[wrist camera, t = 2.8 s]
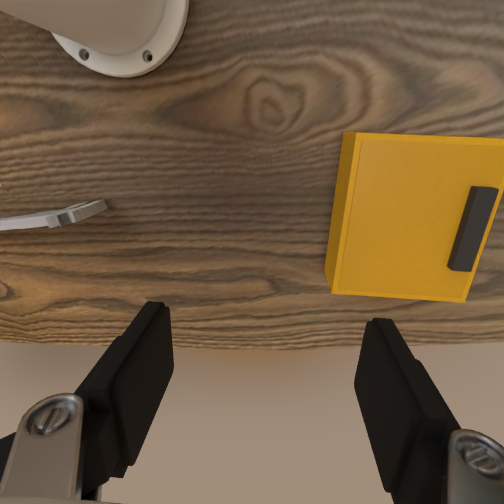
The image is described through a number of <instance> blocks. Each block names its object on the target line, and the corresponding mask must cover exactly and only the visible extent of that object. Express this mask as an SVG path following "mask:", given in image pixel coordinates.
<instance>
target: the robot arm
mask: <svg viewBox="0 0 504 504" xmlns="http://www.w3.org/2000/svg"><path fill="white" fill-rule="evenodd" d="M188 9H189V0H0V11H2V12H4V13H6V14H9V15H11V16H14V17H16V18H19V19H21V20H23V21H26V22H28V23H31V24H33V25H36V26H38V27H40V28H43V29H45V30H48V31H50V32H51V33H52V35H53V36H54V38H55V39H56V40H57V42H58V43H59V44H60V45H61V46H62V47H63V49H64V50H65V51H66V52H67V53H68V54H70V55H71V56H72V57H73V58H74V59H75V60H77V61H78V62H79V63H81V64H83V65H84V66H86V67H88V68H89V69H91V70H94V71H96V72H99V73H102V74H105V75H109V76H113V77H124V78H130V77H135V76H140V75H143V74H145V73H148V72H150V71H152V70H154V69H155V68H157V67H158V66H159V65H161V64H162V63H163V62H164V61H165V60H166V59H167V58H168V57H169V56H170V54H171V53H172V52H173V51H174V49H175V47H176V46H177V44H178V42H179V40H180V38H181V36H182V33H183V30H184V27H185V24H186V21H187V15H188ZM88 54H89V58H88ZM150 55H152V56H153V57H152V60H151V61H149V56H150ZM173 369H174V359H173V346H172V334H171V321H170V309H169V307H166V306H165V304H164V303H163V302H153V301H147V302H146V303H145V305H144V306H143V308H142V309H141V310H140V312H139V313H138V314H137V316H136V317H135V318H134V320H133V321H132V322H131V324H130V325H129V326H128V328H127V329H126V331H125V332H124V333H123V335H122V336H118V337H117V338H116V339H115V340H114V341H113V342H112V344H111V345H110V346H109V348H108V349H107V350H106V351H105V353H104V354H103V356H102V357H101V358H100V359H99V361H98V362H97V363H96V365H95V366H94V367H93V369H92V370H91V371H90V373H89V374H88V375H87V377H86V378H85V379H84V381H83V382H82V383H81V384H80V386H79V387H78V388H77V390H76V391H75V392H74V393H61V394H56V395H52V396H49V397H47V398H45V399H43V400H41V401H39V402H37V403H36V404H35V405H34V406H32V407H31V408H30V409H29V410H28V411H27V412H26V413H25V414H24V415H23V417H22V419H21V421H20V423H19V425H18V428H17V432H14V433H12V434H10V435H8V436H6V437H4V438H2V439H0V504H120V503H110V502H101V492H102V491H101V490H102V484H104V483H106V482H107V481H108V480H109V478H110V477H116V478H123V477H124V474H125V472H126V470H127V467H128V466H133V465H134V463H135V462H136V459H137V457H138V455H139V452H140V450H141V447H142V445H143V443H144V440H145V438H146V435H147V433H148V431H149V428H150V426H151V424H152V421H153V419H154V417H155V414H156V412H157V410H158V407H159V405H160V402H161V400H162V398H163V395H164V393H165V391H166V388H167V386H168V383H169V381H170V379H171V376H172V373H173ZM354 387H355V392H356V395H357V399H358V402H359V406H360V409H361V413H362V416H363V419H364V423H365V426H366V430H367V433H368V436H369V440H370V443H371V447H372V450H373V453H374V457H375V460H376V464H377V467H378V471H379V474H380V477H381V481H382V484H383V487H384V490H385V491H386V492H389V493H391V495H392V499H393V502H394V504H504V447H503V446H502V445H500V444H499V443H498V442H496V441H495V440H493V439H492V438H490V437H488V436H486V435H484V434H482V433H480V432H477V431H474V430H469V429H461V427H460V426H459V424H458V422H457V421H456V419H455V417H454V416H453V414H452V412H451V411H450V409H449V407H448V406H447V404H446V403H445V401H444V399H443V398H442V396H441V394H440V393H439V391H438V389H437V388H436V386H435V385H434V383H433V381H432V379H431V378H430V376H429V374H428V373H427V371H426V370H425V368H424V366H423V365H422V363H421V362H420V361H419V360H417V359H415V358H414V356H413V355H412V353H411V351H410V349H409V348H408V346H407V344H406V343H405V341H404V339H403V337H402V336H401V334H400V332H399V331H398V329H397V327H396V326H395V324H394V322H393V321H392V319H386V318H373V319H372V322H371V321H368V322H367V324H366V328H365V333H364V337H363V342H362V347H361V351H360V356H359V361H358V365H357V370H356V375H355V380H354Z"/></svg>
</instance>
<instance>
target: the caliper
mask: <svg viewBox="0 0 504 504" xmlns="http://www.w3.org/2000/svg"><path fill="white" fill-rule="evenodd" d="M105 209H107V205H106V203H105V200H104V199H101V200H98V201H95V202H92V201H88V202H84V203H81V204H77V205H74V206H70V207H67V208H64V209H60V210H48V211H41V212H37V213H34V214H28V215H21V216H14V217H7V218H0V231H1V230H9V229H17V228H21V229H25V228H33V227H42V226H49V228H52V227H55V226H60V227H61V226H64V225H66V224H69V223H73V222H77V221H80V220H83V219H85V218H88V217H90V216H93V215H95V214H97V213H99V212H101V211H103V210H105Z"/></svg>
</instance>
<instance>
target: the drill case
mask: <svg viewBox="0 0 504 504" xmlns="http://www.w3.org/2000/svg"><path fill="white" fill-rule="evenodd" d="M503 191H504V139H503V138H486V137H463V136H439V135H414V134H390V133H365V132H343V139H342V146H341V153H340V160H339V167H338V175H337V182H336V189H335V196H334V203H333V210H332V217H331V225H330V232H329V239H328V246H327V253H326V260H325V267H324V271H325V275H326V278H327V281H328V284H329V287H330V290H331V293H332V294H346V295H361V296H375V297H389V298H404V299H418V300H433V301H447V302H461V303H464V302H465V300H466V297H467V294H468V291H469V288H470V285H471V283H472V280H473V277H474V274H475V271H476V268H477V265H478V262H479V260H480V257H481V254H482V251H483V248H484V245H485V242H486V239H487V237H488V234H489V231H490V228H491V225H492V222H493V219H494V216H495V214H496V211H497V208H498V205H499V202H500V199H501V196H502V194H503Z"/></svg>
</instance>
